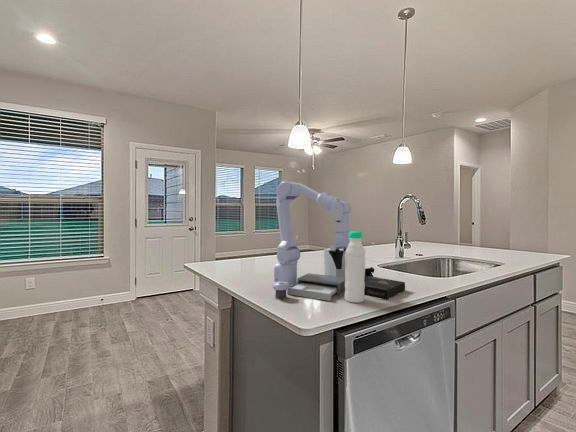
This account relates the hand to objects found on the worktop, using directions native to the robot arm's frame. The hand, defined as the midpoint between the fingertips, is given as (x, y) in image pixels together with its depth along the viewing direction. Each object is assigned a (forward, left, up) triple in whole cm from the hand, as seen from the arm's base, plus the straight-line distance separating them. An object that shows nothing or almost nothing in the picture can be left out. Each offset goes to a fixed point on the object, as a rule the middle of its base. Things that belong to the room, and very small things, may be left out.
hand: (344, 267), depth 122 cm
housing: (-10, +4, -11) cm, 15 cm away
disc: (-19, -15, -7) cm, 26 cm away
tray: (-10, -5, -10) cm, 16 cm away
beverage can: (-2, +27, -11) cm, 30 cm away
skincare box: (-10, +18, -11) cm, 23 cm away
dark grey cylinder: (-19, -15, -11) cm, 27 cm away
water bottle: (+5, -5, -11) cm, 13 cm away
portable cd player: (+10, +12, -11) cm, 19 cm away
